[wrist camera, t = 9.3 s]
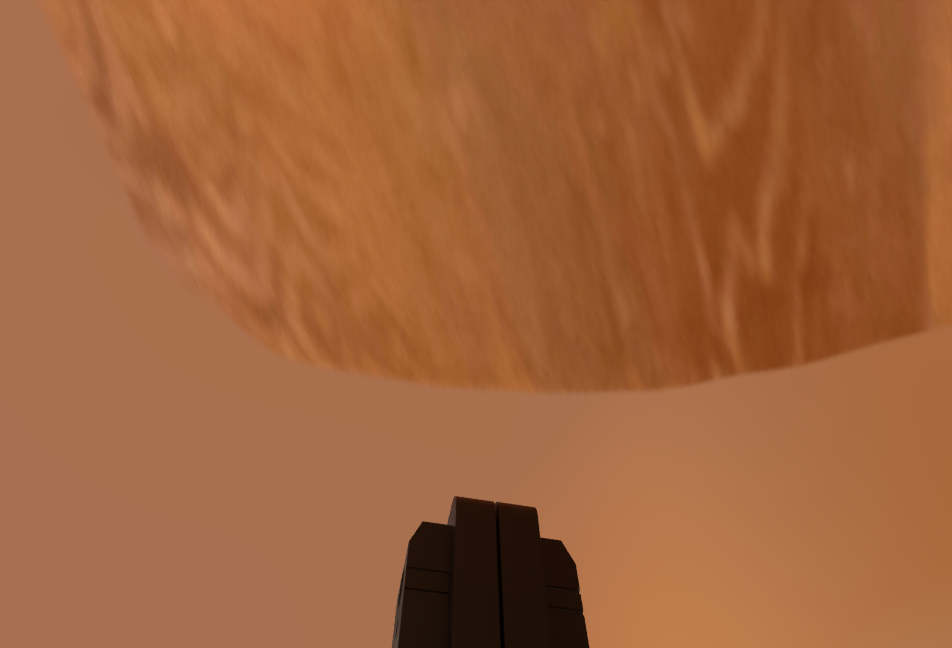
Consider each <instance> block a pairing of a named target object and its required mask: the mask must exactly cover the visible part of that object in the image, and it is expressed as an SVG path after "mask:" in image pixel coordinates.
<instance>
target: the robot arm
mask: <svg viewBox="0 0 952 648" xmlns="http://www.w3.org/2000/svg"><path fill="white" fill-rule="evenodd" d="M579 591H580V588H579V581H578V576H577V570H576V564H575V562H574V561H573V559H572V557H571V556H570V554H569V553H568V551H567V549H566V548H565V546H564V545H563V543H562V541H560V540H553V539H546V538H540V532H539V523H538V514H537V510H536V508H534V507H528V506H521V505H514V504H508V503H500V502H496V503H495V504H494V502H492V501H485V500H477V499H471V498H464V497H458V496H455V497H454V499H453V502H452V506H451V511H450V515H449V519H448V524H447V525H444V524H438V523H431V522H422V523H421V525H420V526H419V528H418V529H417V531H416V532H415V534H414V535H413V536H412V538H411V539H410V541H409V544H408V549H407V554H406V559H405V564H404V569H403V574H402V579H401V584H400V589H399V594H398V599H397V607H396V616H395V625H394V634H393V642H392V648H589V643H588V637H587V631H586V625H585V618H584V615H583V606H582V601H581V595H580V594H579Z"/></svg>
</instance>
